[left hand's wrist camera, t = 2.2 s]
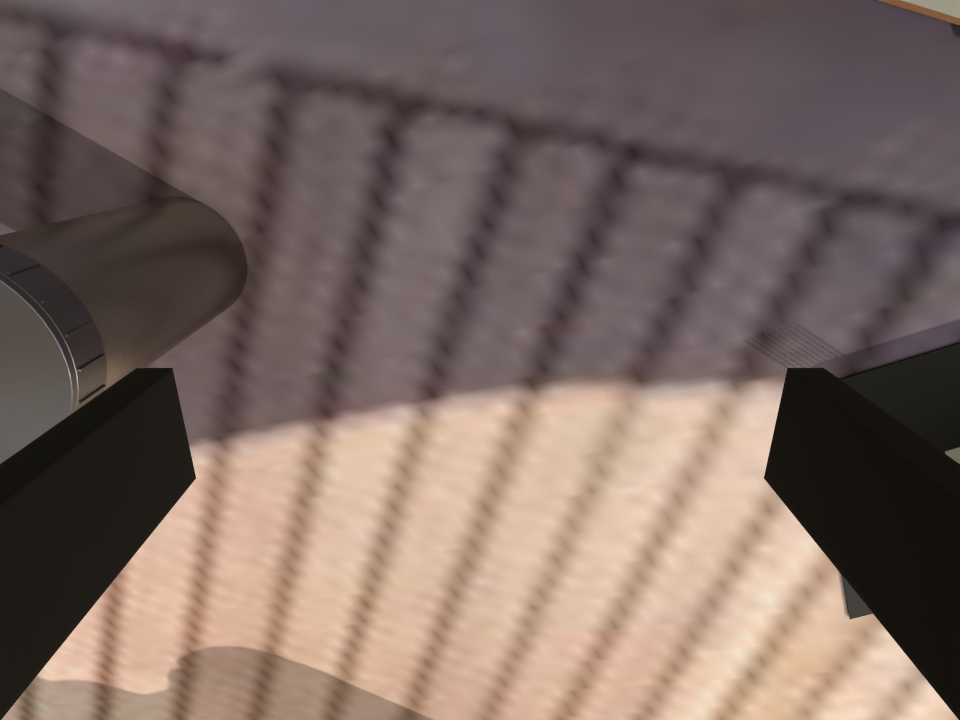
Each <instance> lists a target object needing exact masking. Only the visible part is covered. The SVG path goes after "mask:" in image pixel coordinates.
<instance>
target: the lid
mask: <svg viewBox="0 0 960 720" xmlns="http://www.w3.org/2000/svg"><path fill="white" fill-rule="evenodd" d="M106 379H107V362H106V354H105V350H104V345H103V342H102V339H101V336H100V334H99V331H98V329H97V327H96V325H95V323H94V321H93V319H92V317H91V315H90V314H89V312H88V311H87V309H86V308H85V306H84V305H83V303H82V302H81V301H80V299H79V298H78V297H77V296H76V294H75V293H74V292H73V291H72V290H71V289H70V288H69V287H68V286H67V285H66V284H65V283H64V282H63V281H62V280H61V279H60V278H59V277H58V276H56V275H55V274H54V273H53V272H51V271H50V270H49V269H48V268H46V267H45V266H43V265H42V264H41V263H39V262H37V261H36V260H34V259H33V258H31V257H29V256H27V255H25V254H23V253H21V252H19V251H17V250H15V249H13V248H10V247H7V246H5V245H3V244H2V243H0V464H1V463H2V462H4V461H5V460H7V459H8V458H10V457H11V456H12V455H14V454H15V453H17V452H18V451H19V450H21V449H22V448H24V447H25V446H27V445H28V444H29V443H31V442H32V441H34V440H35V439H37V438H38V437H39V436H41V435H42V434H44V433H45V432H46V431H48V430H49V429H51V428H52V427H54V426H55V425H56V424H58V423H59V422H61V421H62V420H63V419H65V418H66V417H68V416H69V415H71V414H72V413H73V412H75V411H76V410H78V409H79V408H81V407H82V406H83V405H85V404H86V403H88V402H89V401H90V400H92V399H93V398H95V397H96V396H98V395H99V394H100V393H102V392H103V391H104V390H105V388H106Z"/></svg>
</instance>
